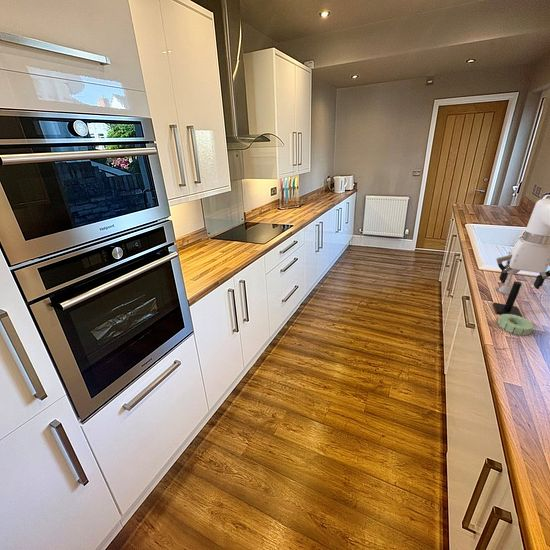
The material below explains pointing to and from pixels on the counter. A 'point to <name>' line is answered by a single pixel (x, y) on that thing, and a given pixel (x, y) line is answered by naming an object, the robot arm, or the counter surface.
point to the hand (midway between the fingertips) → (518, 284)
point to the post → (509, 302)
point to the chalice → (508, 281)
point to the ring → (515, 324)
